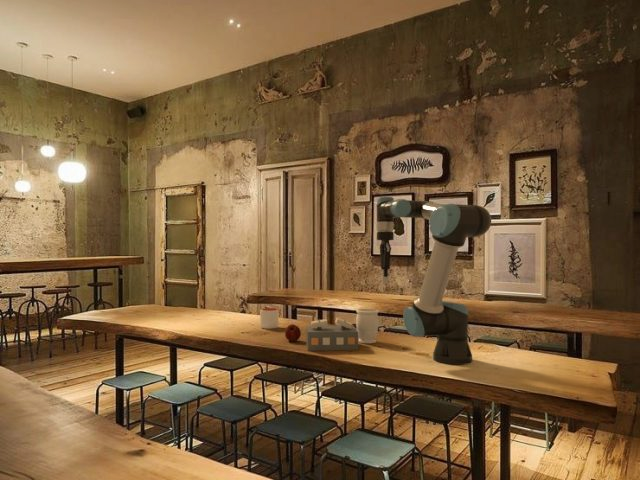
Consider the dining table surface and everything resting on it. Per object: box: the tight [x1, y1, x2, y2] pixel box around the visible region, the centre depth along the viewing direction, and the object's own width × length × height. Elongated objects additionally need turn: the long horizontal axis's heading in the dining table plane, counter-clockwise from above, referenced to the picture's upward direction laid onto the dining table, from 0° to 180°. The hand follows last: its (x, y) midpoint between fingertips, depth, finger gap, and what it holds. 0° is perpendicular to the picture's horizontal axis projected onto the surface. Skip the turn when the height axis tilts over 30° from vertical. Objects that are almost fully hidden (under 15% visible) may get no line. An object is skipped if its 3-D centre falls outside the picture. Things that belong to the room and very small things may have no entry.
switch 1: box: [310, 318, 329, 328], centre depth 212 cm, size 5×7×2 cm
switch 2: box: [334, 317, 353, 329], centre depth 213 cm, size 5×7×2 cm
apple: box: [284, 324, 302, 342], centre depth 224 cm, size 7×8×8 cm
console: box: [305, 325, 359, 351], centre depth 212 cm, size 14×22×9 cm, turn 95°
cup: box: [259, 307, 280, 330], centre depth 259 cm, size 10×10×10 cm
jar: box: [355, 308, 380, 344], centre depth 223 cm, size 11×10×15 cm
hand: (385, 283), depth 213 cm, fingers closed
